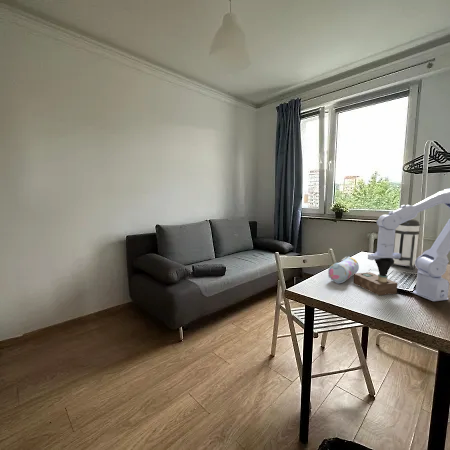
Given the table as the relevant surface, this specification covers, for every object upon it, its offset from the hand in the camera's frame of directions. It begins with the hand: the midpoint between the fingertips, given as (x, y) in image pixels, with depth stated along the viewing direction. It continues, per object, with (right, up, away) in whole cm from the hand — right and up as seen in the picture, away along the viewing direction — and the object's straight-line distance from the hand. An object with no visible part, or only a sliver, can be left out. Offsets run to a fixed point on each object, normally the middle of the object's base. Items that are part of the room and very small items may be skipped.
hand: (382, 275), depth 100 cm
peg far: (-2, -6, +9) cm, 10 cm away
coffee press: (+35, -3, +36) cm, 50 cm away
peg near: (0, -4, +1) cm, 4 cm away
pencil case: (-8, -5, +17) cm, 19 cm away
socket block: (-1, -7, +5) cm, 8 cm away
